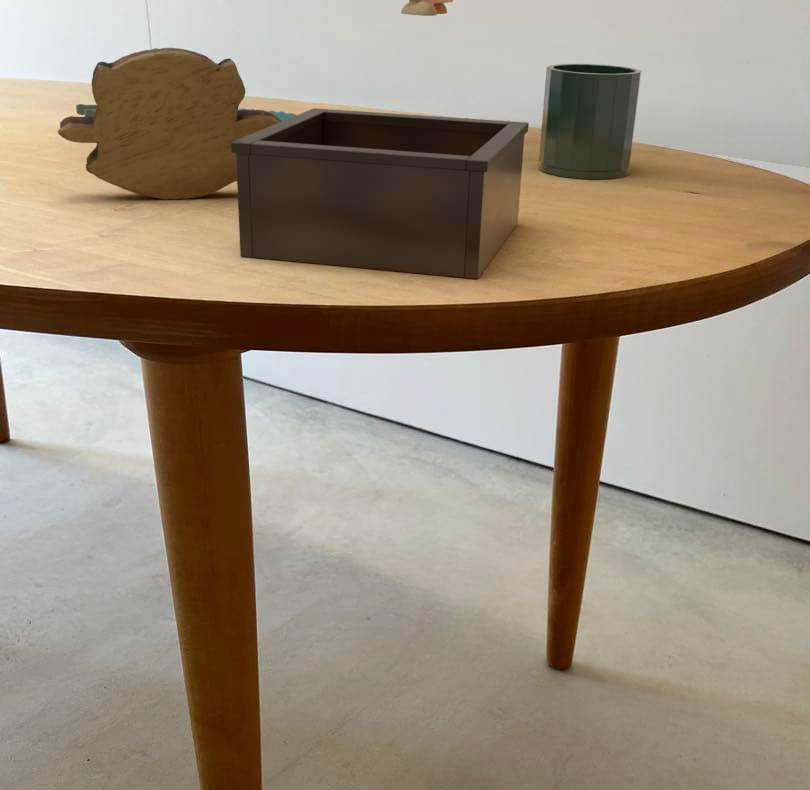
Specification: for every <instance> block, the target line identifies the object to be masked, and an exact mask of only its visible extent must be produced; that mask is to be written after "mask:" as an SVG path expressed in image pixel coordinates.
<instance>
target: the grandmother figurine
mask: <svg viewBox="0 0 810 790" xmlns="http://www.w3.org/2000/svg"><path fill="white" fill-rule="evenodd" d="M453 2H454V0H408V2H407V3H406V4H404V6H403V7H402V9H401V10H400V14H403V15H411V16H421V17H423V16H424V17H428V16H429V17H433V16H434V17H435V16H437V15H444V14H448V9H447V7H446V4H448V3H453Z"/></svg>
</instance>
